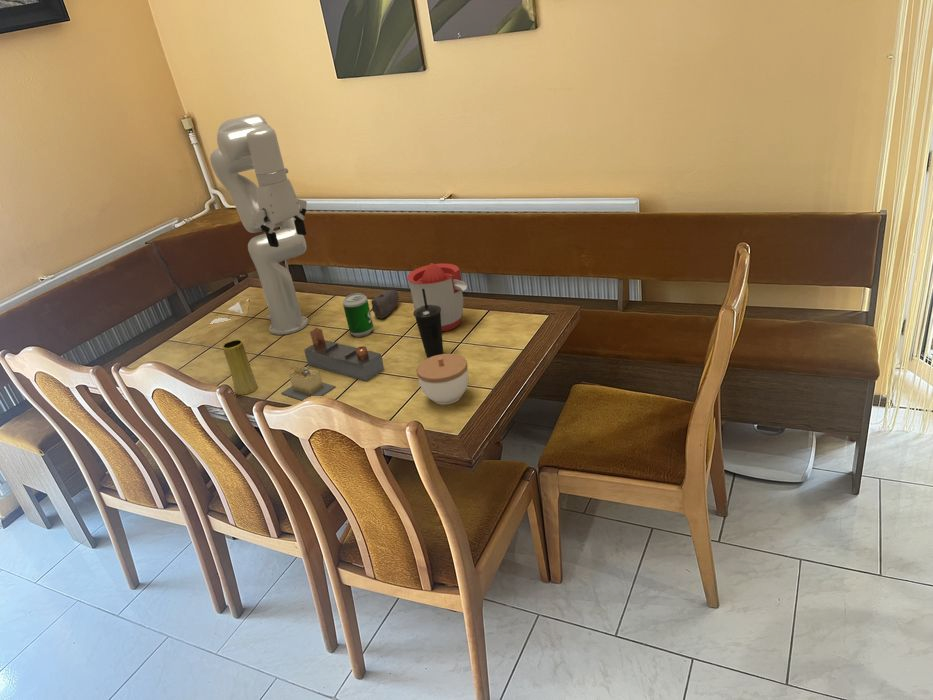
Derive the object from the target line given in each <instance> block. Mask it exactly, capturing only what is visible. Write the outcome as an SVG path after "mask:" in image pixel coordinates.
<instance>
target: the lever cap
mask: <svg viewBox="0 0 933 700" xmlns="http://www.w3.org/2000/svg"><path fill="white" fill-rule="evenodd" d="M288 377H289V380H290V384H291V386H292V387H293V391H295V392H299V393H302V394H305V395H309V396H311V395H313V394H314V393H316V392H317V391H319V390H320V389H322V388H324V387H323V384H322V382H323V381H322V377H321V373H320V371H319V370H316V369H312V368H308V367H305V366H301V367H297V368H295V369H293V371H292V372H291V373H290V374H288Z"/></svg>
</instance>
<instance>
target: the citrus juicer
mask: <svg viewBox="0 0 933 700" xmlns="http://www.w3.org/2000/svg"><path fill="white" fill-rule="evenodd" d="M407 281H408V284H409V288H410V293H411V298H412V299H411V300H412V304H413V308H414V311H415V310H416V309H417V308H419V307H421V306H424V305H425V303H424V298H423V292H422V289H425V295H426V300H427V305H437V306H439V307H440V308H441V312H440V314H441V328H442V332H448V331H451V330H452V329H454V328H457V327H458V326H459V325H460V324H461V323H462V318H463V311H464V295H463V292H465V291H466V290H467V289H468V285H467V283H466V282H465V281H463V280H462V277H461V269H460V267H459V266H458V265H455V264H453V263H433V262H432V263H429V264H427V265H423V266H420V267H418V268H415V269H413V270H412V271H411V272H409V273H408V274H407Z"/></svg>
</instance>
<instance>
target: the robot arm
mask: <svg viewBox="0 0 933 700" xmlns="http://www.w3.org/2000/svg"><path fill="white" fill-rule="evenodd" d="M216 142H217V146H218V148H217V149H215V150H213V151H212V152H211V154H210V157H209V158H210V159H209V160H210V161H209V162H210V164H211V167H212V170H213V172H214V174H215V176H216V178H217V179H218V181H219V182H220V183H221V184H222V186H223V188H225V189H226V191H227V192H228V193H229V195H230V197H231V199H232V201H233V204H234V207H235V209H236V211H237V214H238V216H239V219H240V221H241V223H242V225H243V227H244V228H245V230H246V231H247V232H248V233H251V234H254V233H256V234H257V233H260V232H263V233H261V234H258V235H256V236H254V237H252V238H251V239H250V240H249V241H248V243H247V251H248V253H249V256H250V258H251V260H252V262H253V264H254V267H255V269H256V271H257V275H258V277H259V282H260V284H261V287H262V291H263V293H264V297H265V300H266V304H267V308H268V311H269V314H267V316H266V318H267V319H268V320H270V322H271V324H270V325H269V328H268V329H269V332H270V333H271V334H272V335H278V336H280V335H288V334H289V335H290V334H293V333H297V332H299V331H301V330H302V329H304V328H305V327H307V326H308V324H309V320H308V318H307V316H304V315H302V312H301V311H302V310H301V307H300V305H299V300H298V296H297V294H296V293H297V292H296V290H295V289H296V288H295V286H294V285H295V284H294V282H293V278H292V275H291V273H290V271H289V270H288V269H287V267H285V266H283V265H281V264H280V263H281V262H284V261H287V260H291V259H293V258H296V257H299V256H302V255H304V254H305V252H306V251H307V242H306V239H305V236H306V235H307V231H306V226H305V223H304V220H305V219H306V218H305V217H306V216H305V215H306V212H307V204H308V203H307V200H303V199H298V198H297V194H296V192H295V189H294V187H293V184H292V182H291V181H290V179H289V178H288V177H287V174H288V173H289V170H288V168H287V167H285V165H284V161H283V157H282V153H281V149H280V146H279V145H280V144H279V140H278V137H277V133H276V131H275V129H274V128H272V126H271V125H269V123H268V122H267V121H266V119H265V118H264V117H263V116H262V115H260V114H251V115H246V116H240V117H237V118H232V119H228V120H225V121H224V122H222V123H221V124H220V126H219V128H218V131H217V135H216ZM251 170H254V174H255V176H256V177H255V178H256V180H257V184H258V185H257V184H256V183H255V182H254V181H252V180H251V179H249V178H247V177H246V176H244V175H242V174H240V173H243V172H246V171H251ZM280 227H281V228H280ZM276 228H279V229H276ZM274 229H276V230H274Z"/></svg>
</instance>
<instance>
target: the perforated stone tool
mask: <svg viewBox="0 0 933 700" xmlns="http://www.w3.org/2000/svg"><path fill="white" fill-rule="evenodd" d="M399 296H400V295H399V292H398V290H396V289H388V290H386V291H383V292H382V293H380V294H378V295H376V296H375V297H374V298H373V299H372V300H371V301H370V302H371V310H372V312H373V314H374V316H375V317H376V318H380V319H384V318H385V317H387V316H388V315H390V314H391V313H392V311H394V309H395V308H396V307H397V305H398V302H399V299H400V297H399Z"/></svg>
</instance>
